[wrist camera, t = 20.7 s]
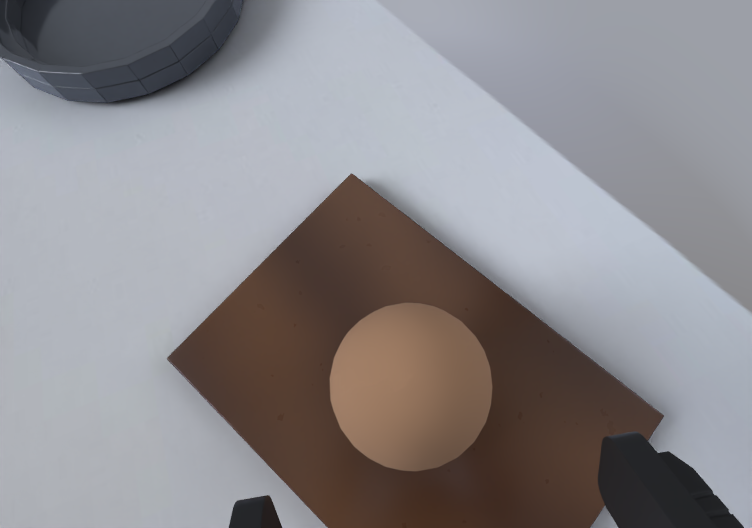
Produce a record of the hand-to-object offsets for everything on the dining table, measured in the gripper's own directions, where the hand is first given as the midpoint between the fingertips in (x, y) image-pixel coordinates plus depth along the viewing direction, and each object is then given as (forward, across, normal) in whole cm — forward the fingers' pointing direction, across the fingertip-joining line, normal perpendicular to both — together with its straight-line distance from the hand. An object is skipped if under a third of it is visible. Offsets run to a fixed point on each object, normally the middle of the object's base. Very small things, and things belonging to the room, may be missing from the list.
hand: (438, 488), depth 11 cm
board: (+11, 0, +6) cm, 12 cm away
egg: (+10, 0, +6) cm, 11 cm away
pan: (+31, +15, -14) cm, 37 cm away
